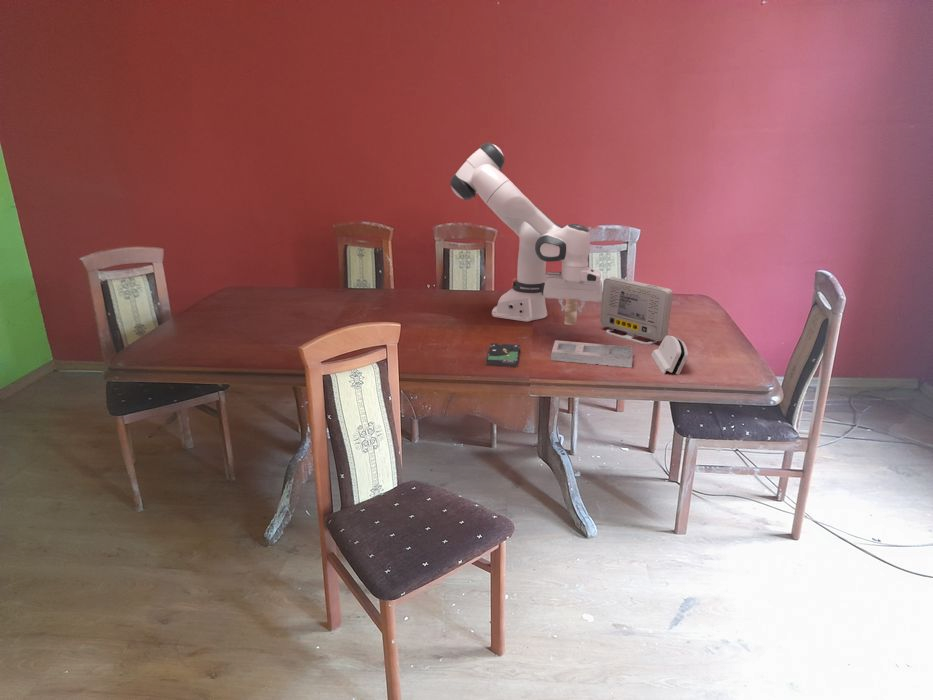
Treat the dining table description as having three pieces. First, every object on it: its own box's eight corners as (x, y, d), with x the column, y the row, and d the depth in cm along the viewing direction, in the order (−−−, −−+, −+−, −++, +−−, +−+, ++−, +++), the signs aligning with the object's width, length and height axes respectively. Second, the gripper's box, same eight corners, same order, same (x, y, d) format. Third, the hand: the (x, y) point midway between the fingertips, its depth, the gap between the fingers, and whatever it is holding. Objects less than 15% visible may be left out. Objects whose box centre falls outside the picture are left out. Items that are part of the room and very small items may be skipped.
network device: (669, 342, 214) (676, 288, 206) (657, 348, 208) (664, 293, 201) (608, 325, 231) (613, 274, 223) (595, 330, 225) (599, 279, 218)
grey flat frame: (551, 360, 199) (551, 351, 198) (554, 348, 209) (555, 340, 208) (631, 367, 193) (632, 359, 192) (631, 355, 203) (632, 346, 202)
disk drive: (490, 350, 209) (486, 366, 195) (490, 342, 208) (486, 358, 194) (520, 351, 208) (517, 368, 194) (520, 344, 207) (518, 360, 193)
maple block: (564, 324, 209) (566, 299, 205) (565, 320, 212) (566, 296, 209) (575, 325, 208) (577, 300, 205) (576, 321, 212) (578, 296, 208)
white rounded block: (651, 354, 204) (664, 328, 200) (663, 358, 204) (677, 333, 200) (663, 374, 188) (678, 346, 184) (676, 379, 188) (692, 352, 185)
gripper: (542, 273, 203) (540, 312, 208) (604, 277, 199) (600, 316, 204) (544, 268, 208) (542, 306, 214) (604, 272, 204) (600, 310, 210)
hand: (571, 311), depth 209 cm, fingers closed on maple block, 4 cm apart
